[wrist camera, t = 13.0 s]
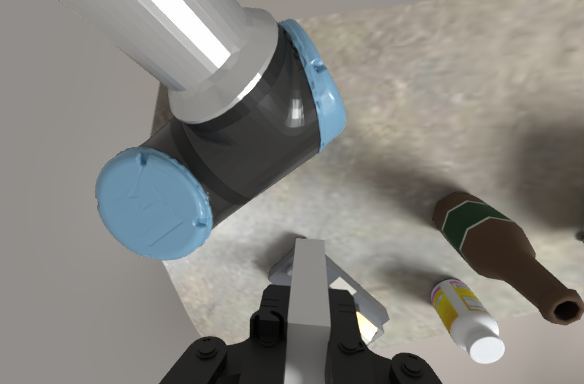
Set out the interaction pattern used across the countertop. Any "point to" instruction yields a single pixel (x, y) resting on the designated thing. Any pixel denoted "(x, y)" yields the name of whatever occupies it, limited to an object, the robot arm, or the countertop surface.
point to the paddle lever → (366, 327)
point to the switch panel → (337, 280)
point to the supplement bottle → (467, 321)
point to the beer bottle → (504, 255)
